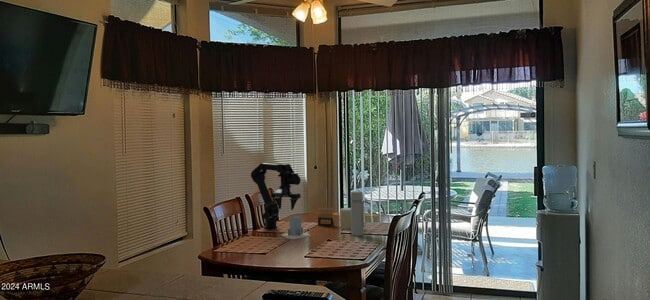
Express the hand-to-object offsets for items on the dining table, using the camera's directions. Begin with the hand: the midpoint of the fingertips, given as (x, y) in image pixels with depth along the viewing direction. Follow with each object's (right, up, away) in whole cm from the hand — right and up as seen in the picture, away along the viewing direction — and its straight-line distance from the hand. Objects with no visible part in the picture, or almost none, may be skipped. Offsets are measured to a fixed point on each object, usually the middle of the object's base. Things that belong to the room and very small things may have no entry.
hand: (286, 209), depth 296 cm
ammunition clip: (+25, -12, +14) cm, 31 cm away
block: (+7, -12, -18) cm, 23 cm away
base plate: (+7, -13, -18) cm, 23 cm away
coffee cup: (+38, -12, +3) cm, 40 cm away
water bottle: (+44, -13, -19) cm, 49 cm away
